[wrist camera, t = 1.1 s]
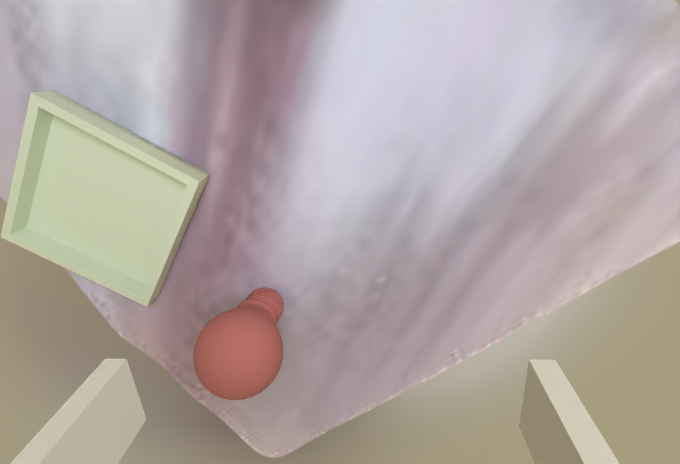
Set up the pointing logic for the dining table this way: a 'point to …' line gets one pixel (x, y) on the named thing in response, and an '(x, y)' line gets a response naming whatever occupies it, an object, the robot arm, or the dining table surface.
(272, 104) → the dining table surface
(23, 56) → the dining table surface
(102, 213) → the tray
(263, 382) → the light bulb
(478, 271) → the dining table surface
